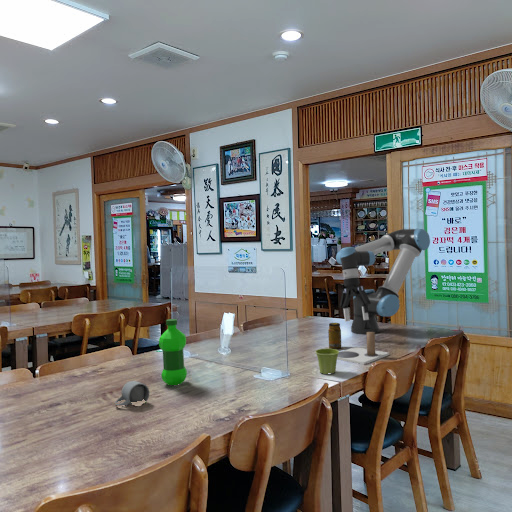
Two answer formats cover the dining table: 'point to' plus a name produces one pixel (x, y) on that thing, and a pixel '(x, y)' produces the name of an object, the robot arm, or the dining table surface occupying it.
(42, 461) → the dining table surface
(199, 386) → the dining table surface
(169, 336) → the plastic bottle
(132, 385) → the ceramic mug
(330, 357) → the plant pot
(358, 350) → the board
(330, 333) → the condiment
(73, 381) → the dining table surface
